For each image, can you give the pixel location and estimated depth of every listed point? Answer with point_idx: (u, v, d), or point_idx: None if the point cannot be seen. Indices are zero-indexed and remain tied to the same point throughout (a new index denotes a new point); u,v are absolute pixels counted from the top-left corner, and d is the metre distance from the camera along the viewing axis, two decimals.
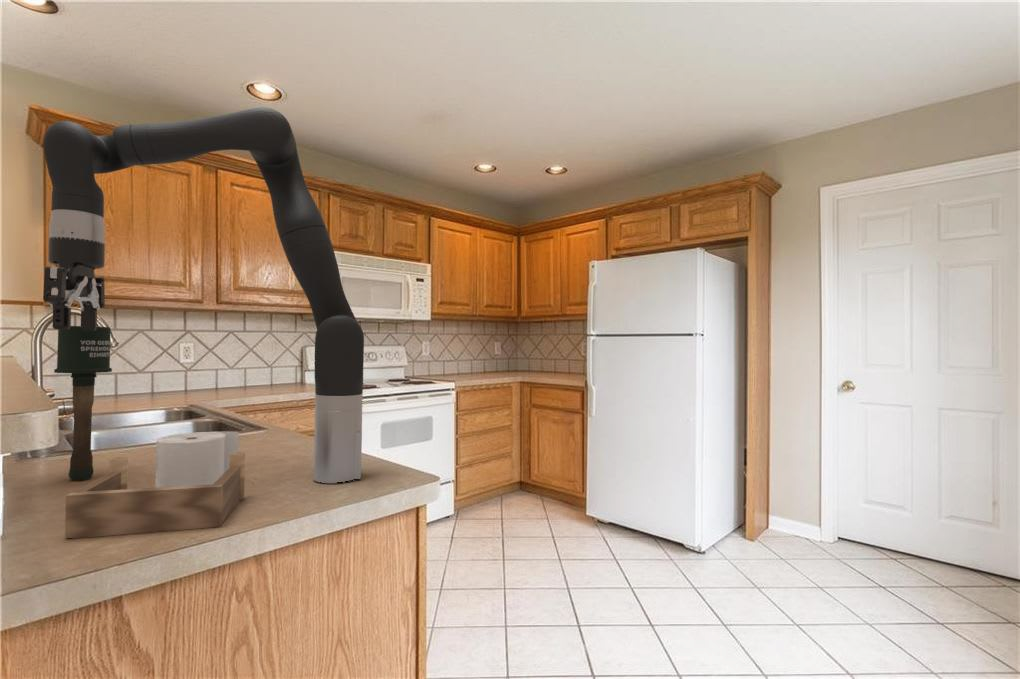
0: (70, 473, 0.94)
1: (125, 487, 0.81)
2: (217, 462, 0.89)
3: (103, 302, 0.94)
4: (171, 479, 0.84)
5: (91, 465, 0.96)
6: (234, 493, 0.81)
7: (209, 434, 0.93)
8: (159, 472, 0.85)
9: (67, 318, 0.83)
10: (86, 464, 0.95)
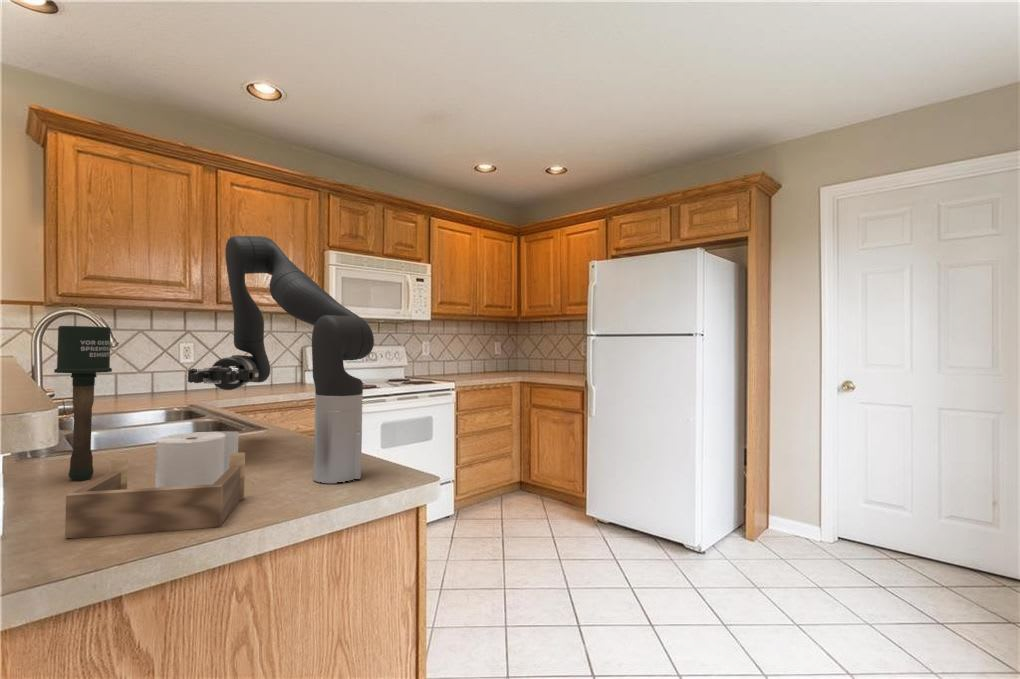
0: (70, 473, 0.94)
1: (125, 487, 0.81)
2: (217, 462, 0.89)
3: (247, 370, 1.07)
4: (171, 479, 0.84)
5: (91, 465, 0.96)
6: (234, 493, 0.81)
7: (209, 434, 0.93)
8: (159, 472, 0.85)
9: None
10: (86, 464, 0.95)
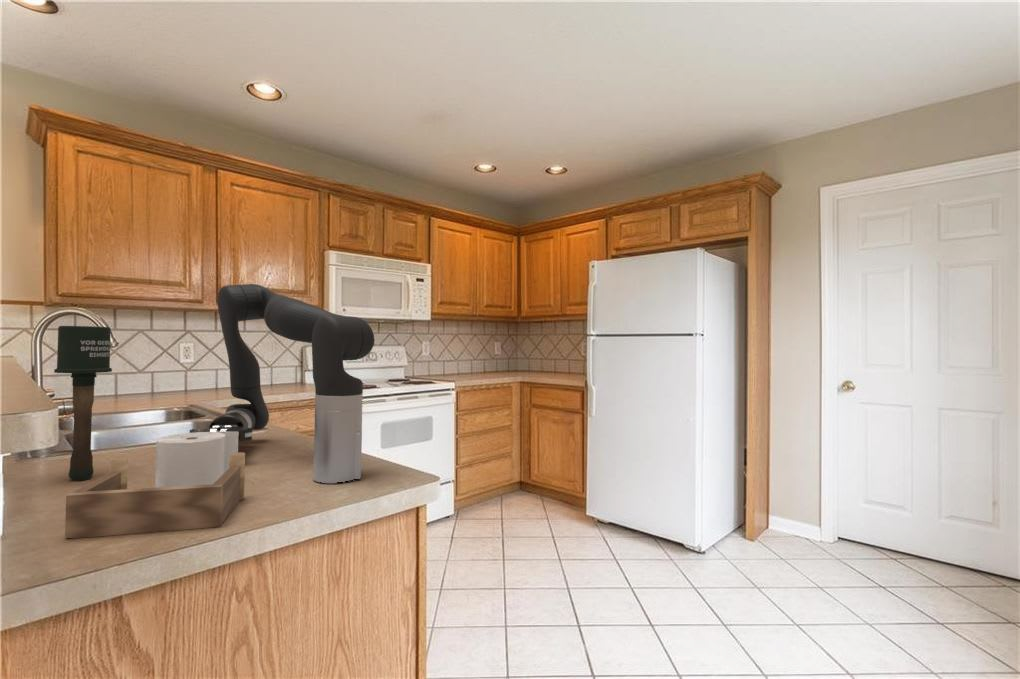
0: (70, 473, 0.94)
1: (125, 487, 0.81)
2: (217, 462, 0.89)
3: (232, 431, 1.06)
4: (171, 479, 0.84)
5: (91, 465, 0.96)
6: (234, 493, 0.81)
7: (209, 434, 0.93)
8: (159, 472, 0.85)
9: None
10: (86, 464, 0.95)
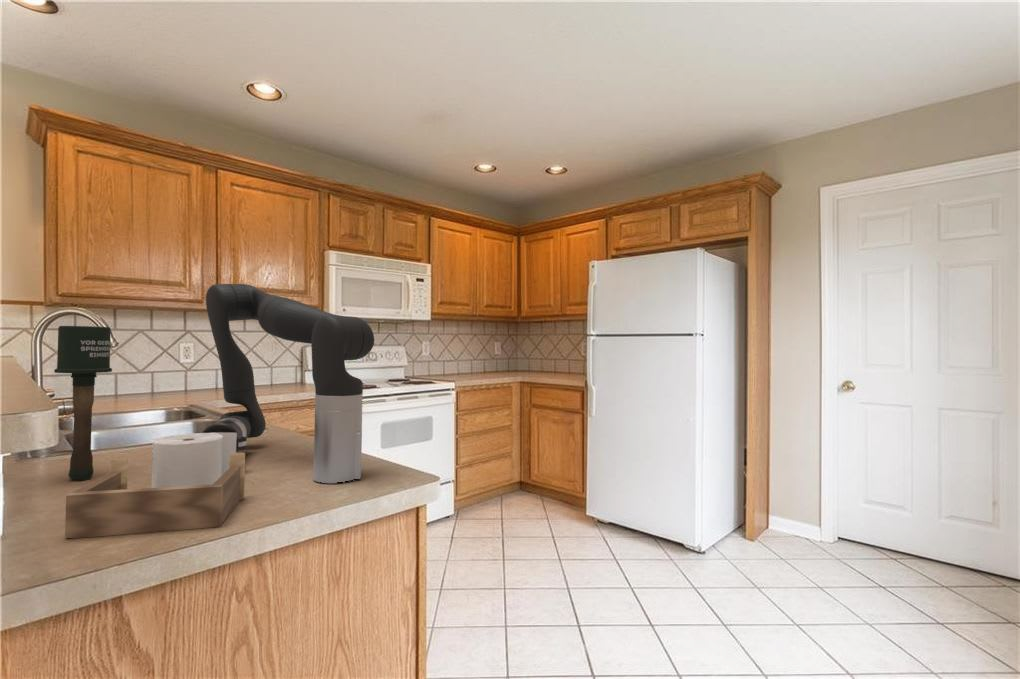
0: (70, 473, 0.94)
1: (125, 487, 0.81)
2: (213, 464, 0.87)
3: None
4: (167, 481, 0.83)
5: (91, 465, 0.96)
6: (234, 493, 0.81)
7: (206, 435, 0.91)
8: (155, 474, 0.84)
9: None
10: (86, 464, 0.95)
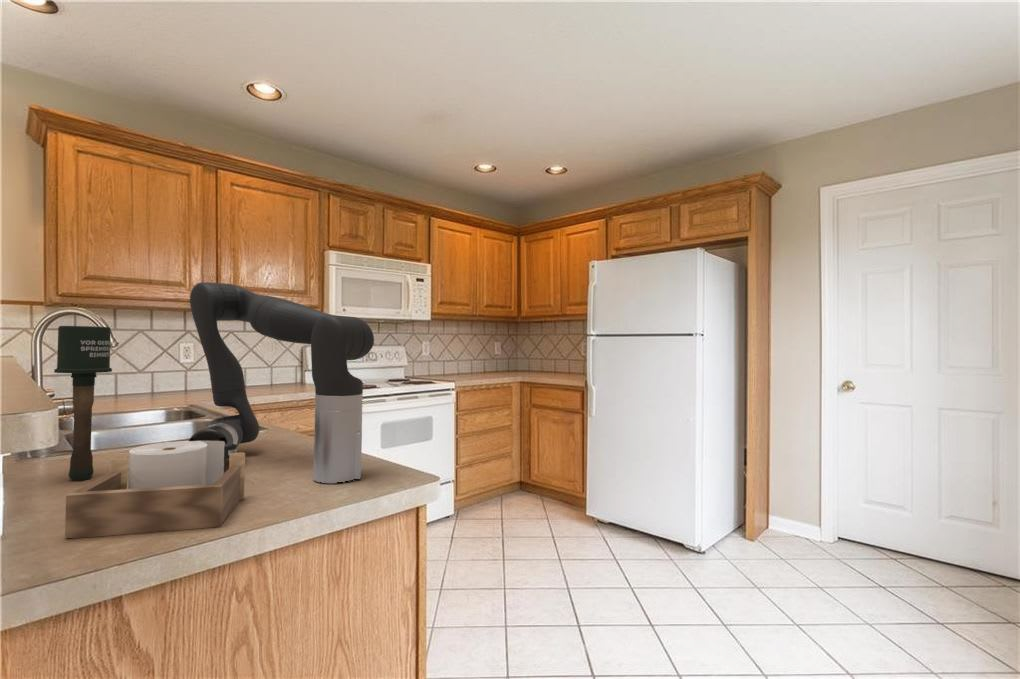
0: (70, 473, 0.94)
1: (125, 487, 0.81)
2: (194, 476, 0.79)
3: None
4: None
5: (91, 465, 0.96)
6: (234, 493, 0.81)
7: (191, 444, 0.84)
8: (130, 487, 0.76)
9: None
10: (86, 464, 0.95)
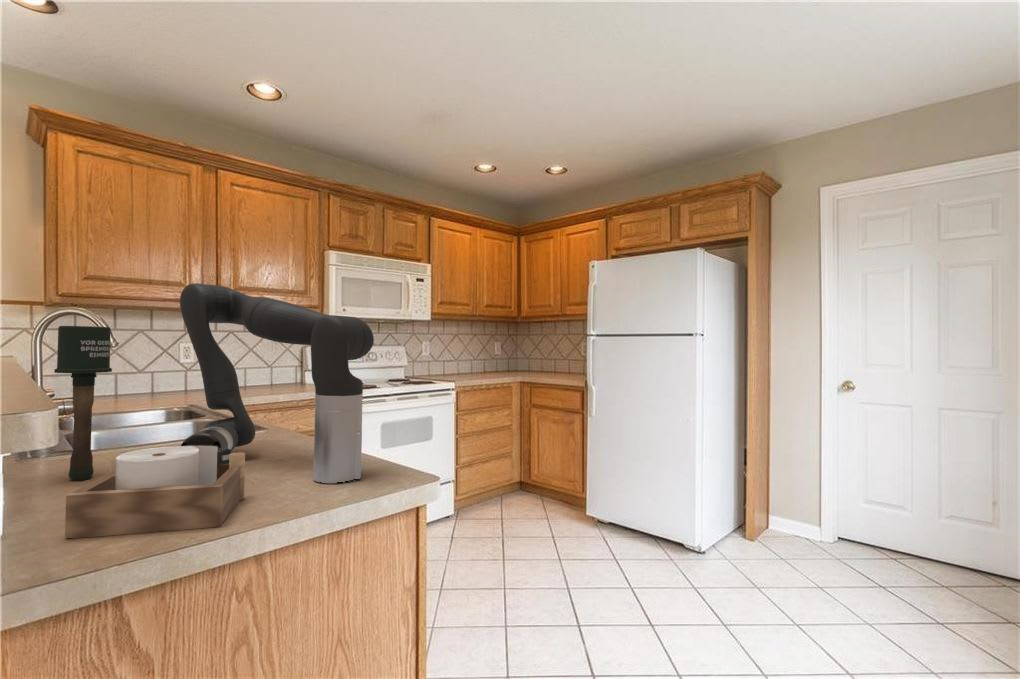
0: (70, 473, 0.94)
1: None
2: (185, 484, 0.75)
3: None
4: None
5: (91, 465, 0.96)
6: (234, 493, 0.81)
7: (182, 449, 0.80)
8: None
9: None
10: (86, 464, 0.95)
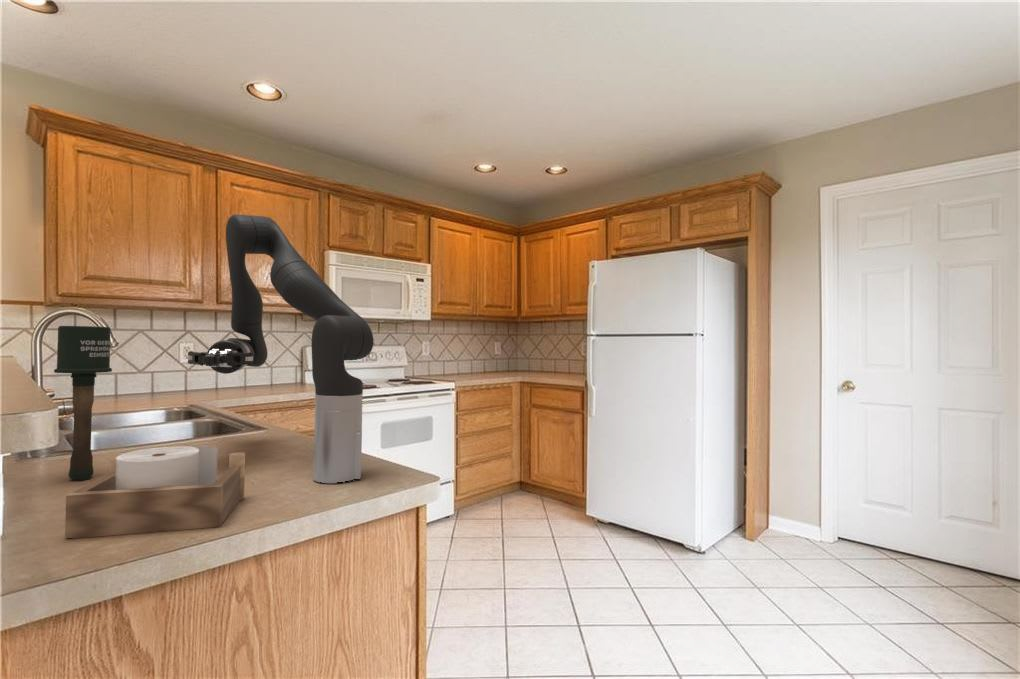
0: (70, 473, 0.94)
1: None
2: (185, 484, 0.75)
3: (233, 353, 1.03)
4: None
5: (91, 465, 0.96)
6: (234, 493, 0.81)
7: (182, 449, 0.80)
8: None
9: (208, 355, 0.98)
10: (86, 464, 0.95)
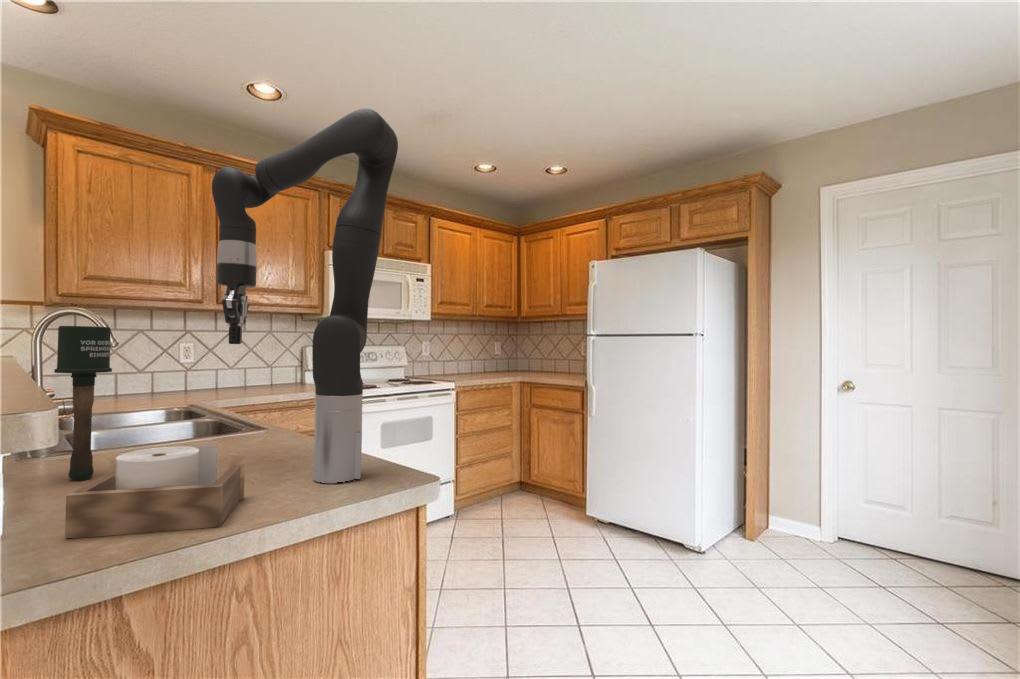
0: (70, 473, 0.94)
1: None
2: (185, 484, 0.75)
3: (245, 320, 1.09)
4: None
5: (91, 465, 0.96)
6: (234, 493, 0.81)
7: (182, 449, 0.80)
8: None
9: (239, 335, 1.05)
10: (86, 464, 0.95)
